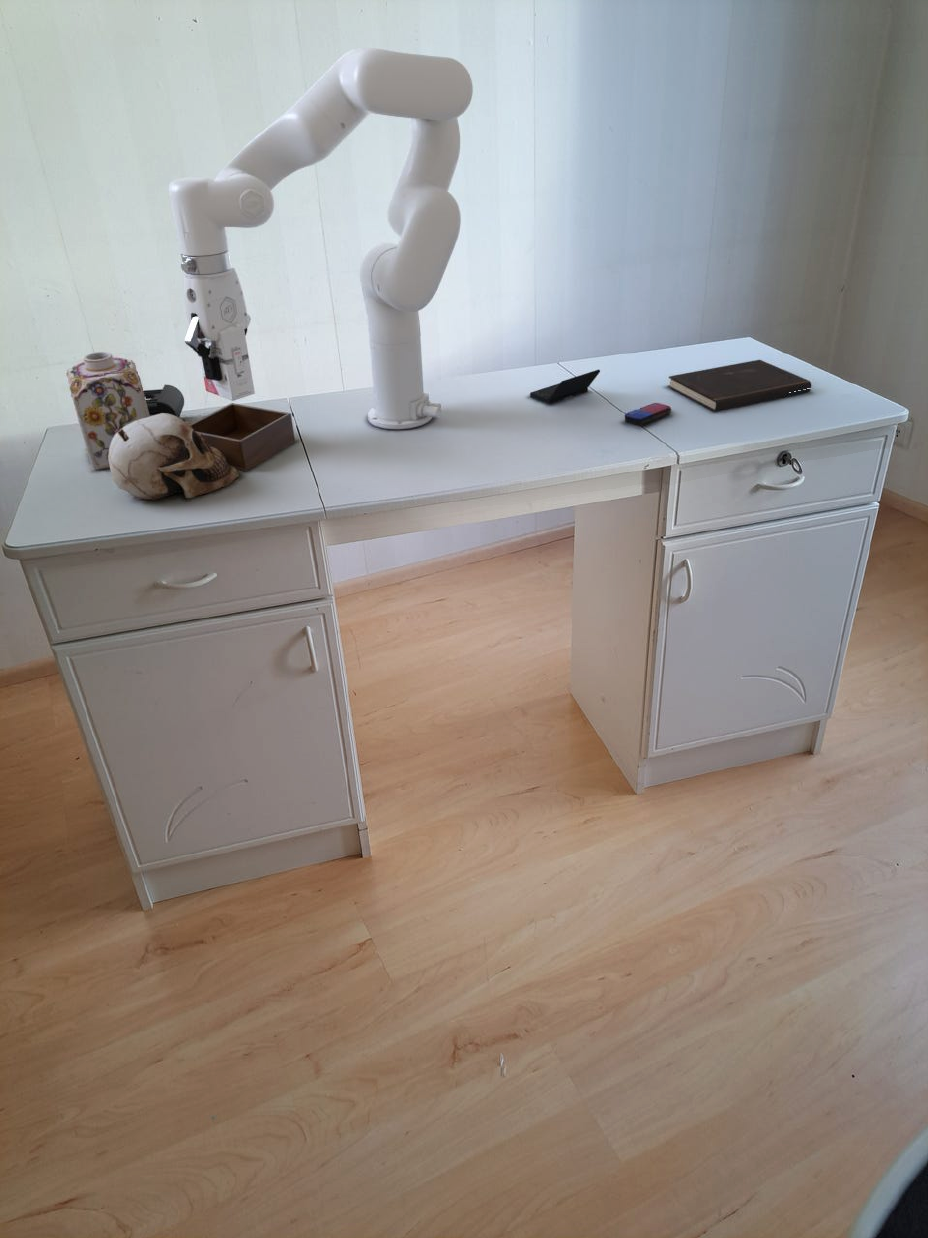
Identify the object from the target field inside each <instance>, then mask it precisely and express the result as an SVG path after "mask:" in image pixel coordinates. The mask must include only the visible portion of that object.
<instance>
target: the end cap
mask: <svg viewBox="0 0 928 1238" xmlns="http://www.w3.org/2000/svg"><path fill="white" fill-rule="evenodd" d="M143 392H144V396H145V400H146V403H147V407H148V412H149V415H150V416H153V415H157V414H161V413H168V414H171V415H174V416H176V417H179V418H180V416H181V414H182V413H183V412H182V411H183V409H184V406H185V397H184V395H183V393H182V391H181V390H180V389H179V388H177V387H176V386H174V385H171V384H164V385H163V387H162V388H160V389H148V390H147V389H145V390H144V389H143Z"/></svg>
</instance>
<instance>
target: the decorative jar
mask: <svg viewBox="0 0 928 1238" xmlns="http://www.w3.org/2000/svg"><path fill="white" fill-rule="evenodd" d="M66 378H67V379H68V380H67V381H68V384H69V385H68V386H69V391H70V397H71V398H72V399H71V400H72V402H73V405H74V410H75V413H76V417H77V419H78V423H79V426H80V431H81V434H82V437H83V441H84V445H85V448H86V452H87V454H88V458H89V461H90V465H91V468H92V470H94V471H100V470H105V469H110V464H109V460H108V455H109V448H110V444H111V442H112V439H113V437H114V436H115V434H116V433H117V432H118V431H119V430H121V429H122V428H123V427H125V426H126V425H128V424H130V423H132V422H134V421H136V420H139V419H143V418H147V417H149V416H150V415H149V412H148V407H147V403H146V400H147V399H146V398H145V396H144V392H143V391H144V389H143V388H144V387H143V384H142V380H141V377H140V375H139V372H138V370H137V365H136V363H135V362H134V361H133V360H132V359H128V358H123V357H118V356H117V357H114V355H113V354H112V353H111V352H107V351H96V352H91V353H88V354H86V355H84V356H83V361H82V362H80V363H78V364H76V365H73V366H72V367H69V368H68V369H67V370H66Z"/></svg>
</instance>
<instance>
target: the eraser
mask: <svg viewBox="0 0 928 1238" xmlns="http://www.w3.org/2000/svg"><path fill="white" fill-rule="evenodd" d="M671 412H672V408H671V406H669V405H667V404H665V403H661V402H653V403H650V404H646V405H645V406H642V407H639V408H637V409H633V410H631V411H628V412H627V413H625V414H624V423H627V424H632V425H636V426H640V427H642V426H646V425H649V424H651V423H654V422H656V421H658V420H661V419H663V418H665V417H668V416H670V414H671Z"/></svg>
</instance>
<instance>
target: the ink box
mask: <svg viewBox="0 0 928 1238" xmlns="http://www.w3.org/2000/svg"><path fill="white" fill-rule="evenodd" d="M219 337H220V339H219V341H215V343H216V350H215V357H218V358H219V363H220V369H221V374H222V380H221V381H215V380H209V379H206V377H205V372H204V367H203V362H202V357H200V356H199V360H200V361H199V362H200V364H201V365H200V366H201V372H202V377H203V383H204V388H205V391H206V392H208V393H211V394H213V395H216V396H218V397H221V398H224V399H226V400H229V401H231V402H233V401H234V402H235V401H237V400H241V399H243V398H246V397H249V396H252V395H255V394H256V392H255V387H254V386H255V385H254V379H253V374H252V368H251V362H250V357H249V351H248V343H247V339H246V336H245V331H244V327H243V326H242V325H241V324H235V325H233V326H231V327H229V328H227V329H225V330H223V331H221V332H219ZM208 344H209V342H207V341H206V345H205V346H206V347H207V348H208Z"/></svg>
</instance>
